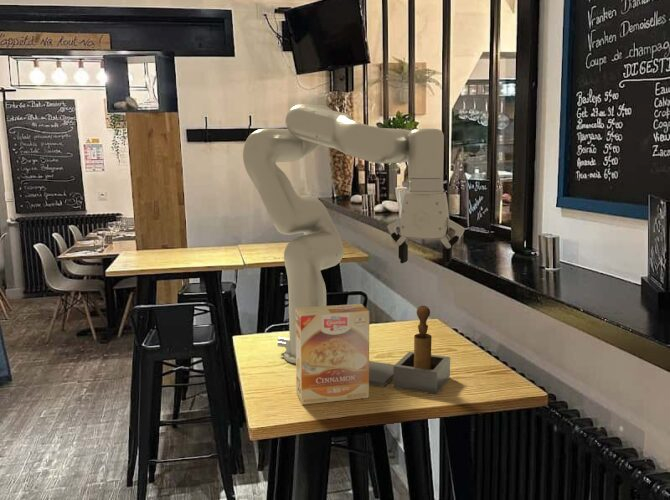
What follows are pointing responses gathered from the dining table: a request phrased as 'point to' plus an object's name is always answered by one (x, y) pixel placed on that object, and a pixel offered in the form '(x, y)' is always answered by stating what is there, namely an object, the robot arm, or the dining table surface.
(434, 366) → the open square box
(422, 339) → the wooden pepper mill
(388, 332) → the dining table surface
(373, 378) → the coaster
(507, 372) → the dining table surface
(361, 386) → the coffeecake box
